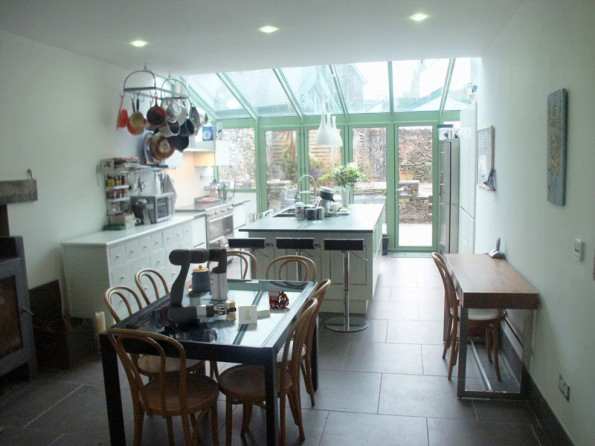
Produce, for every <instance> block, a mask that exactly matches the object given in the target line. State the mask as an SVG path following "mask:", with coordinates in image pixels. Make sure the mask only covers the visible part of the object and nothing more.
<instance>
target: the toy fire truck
mask: <svg viewBox="0 0 595 446" xmlns="http://www.w3.org/2000/svg"><path fill="white" fill-rule="evenodd" d="M267 295H268V304H269V309H271V310H275V309H276V308H277V307H278V309H279V310H284V309H285V307H287V306H289V305H290V299H289V297H288V295H287V293H285V291H284V290H269V291H268V294H267Z"/></svg>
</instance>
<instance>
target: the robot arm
mask: <svg viewBox="0 0 595 446" xmlns="http://www.w3.org/2000/svg"><path fill="white" fill-rule="evenodd" d="M168 260H169V263H170V264H171V265H173V266H180V270H179V273H178V275H177V276H176V278H175V280H174V281H173V283H172V285H171V287H170V294H169V303H168V310H167V318H168V319H169V321H171V322H177V321H183V320H194V319H195V320H197V319H201V320H202V319H210V318H214V317H215V315H218V316H220V317H221V316H225V315H226V314H229V313H230V312H235V313H236V312H237V307H236V306H235V307H234V308H226V303H225V304H223V303H220V304H215V306H214V303H207V304H206V303H205V304H198V305H191V306H184V307H182V303H183V299H184V293H185V292H184V291H185V286H186V282H187V281H186V280H187V279H188V274H189V271H190V266H191V264H193V265H195V264H196V265H202V264H205V263H207V262H213V263H218V266H214V267H212V270H211V274H212V275H211V276H212V280H211V281H212V283H211V299H213V300H214V301H224V300H227V299H228V293H229V292H228V251H227V248H225V247H209V248H203V247H199V248H191V249H187V248H178V249H177V248H176V249H172V250H171V251H170V252H169V255H168Z"/></svg>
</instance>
